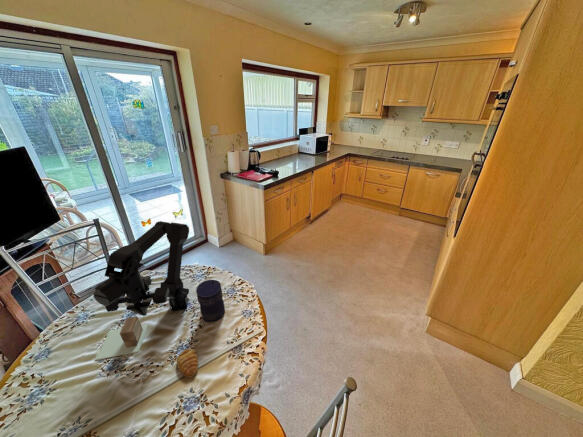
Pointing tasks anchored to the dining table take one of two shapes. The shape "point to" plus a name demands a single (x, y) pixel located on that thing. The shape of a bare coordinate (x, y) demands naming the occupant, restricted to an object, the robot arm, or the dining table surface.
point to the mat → (118, 345)
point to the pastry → (188, 362)
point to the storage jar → (210, 300)
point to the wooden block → (131, 331)
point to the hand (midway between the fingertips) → (145, 314)
